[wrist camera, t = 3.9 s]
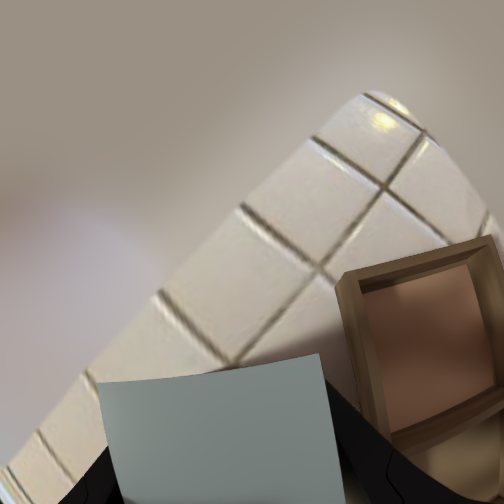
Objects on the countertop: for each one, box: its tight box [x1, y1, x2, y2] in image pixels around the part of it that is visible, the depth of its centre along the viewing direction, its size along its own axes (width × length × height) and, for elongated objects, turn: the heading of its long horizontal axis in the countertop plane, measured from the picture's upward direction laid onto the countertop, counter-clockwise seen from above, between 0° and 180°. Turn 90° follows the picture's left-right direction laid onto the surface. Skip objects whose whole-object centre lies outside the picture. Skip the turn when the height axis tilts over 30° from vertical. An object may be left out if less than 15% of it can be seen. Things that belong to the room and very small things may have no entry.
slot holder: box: [335, 234, 504, 504], centre depth 11 cm, size 18×9×3 cm, turn 10°
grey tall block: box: [97, 353, 346, 504], centre depth 10 cm, size 5×5×10 cm
